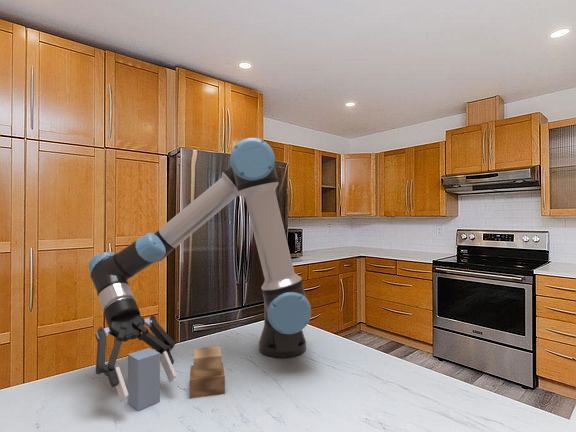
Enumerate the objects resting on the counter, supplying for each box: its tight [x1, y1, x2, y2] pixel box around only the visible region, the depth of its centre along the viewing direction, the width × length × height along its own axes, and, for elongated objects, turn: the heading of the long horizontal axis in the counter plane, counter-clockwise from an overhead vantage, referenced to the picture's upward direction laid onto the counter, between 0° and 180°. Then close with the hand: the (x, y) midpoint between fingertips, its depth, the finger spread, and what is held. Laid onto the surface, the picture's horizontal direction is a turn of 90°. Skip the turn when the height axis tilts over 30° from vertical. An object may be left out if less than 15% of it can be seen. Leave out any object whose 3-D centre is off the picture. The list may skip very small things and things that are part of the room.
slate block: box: [127, 347, 161, 412], centre depth 76 cm, size 5×5×11 cm
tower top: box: [192, 345, 223, 378], centre depth 83 cm, size 6×6×4 cm
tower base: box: [189, 361, 226, 399], centre depth 83 cm, size 8×8×4 cm
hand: (150, 388), depth 74 cm, fingers open, 10 cm apart
